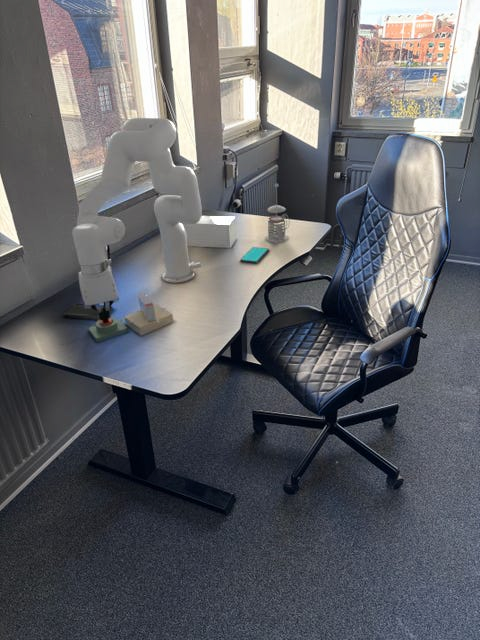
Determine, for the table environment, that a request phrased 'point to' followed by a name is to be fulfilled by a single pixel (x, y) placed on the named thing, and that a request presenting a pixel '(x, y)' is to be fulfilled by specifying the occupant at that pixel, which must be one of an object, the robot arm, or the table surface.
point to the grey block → (147, 307)
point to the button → (106, 322)
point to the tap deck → (141, 323)
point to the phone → (83, 312)
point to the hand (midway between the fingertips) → (105, 320)
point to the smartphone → (254, 255)
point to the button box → (107, 330)
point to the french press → (276, 219)
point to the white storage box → (211, 232)
